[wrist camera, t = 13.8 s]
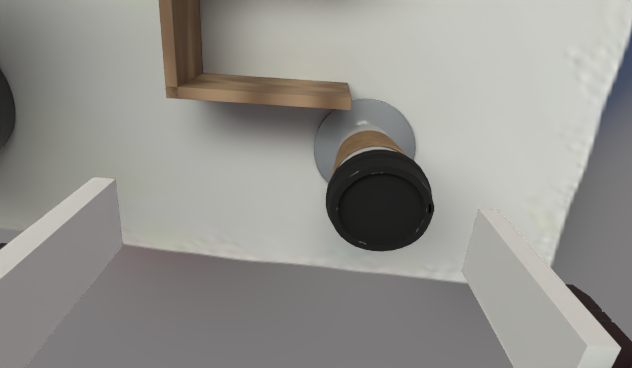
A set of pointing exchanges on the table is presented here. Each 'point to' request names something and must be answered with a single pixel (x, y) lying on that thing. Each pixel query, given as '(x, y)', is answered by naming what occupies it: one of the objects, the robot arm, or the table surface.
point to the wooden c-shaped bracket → (191, 83)
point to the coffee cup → (377, 192)
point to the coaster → (357, 115)
